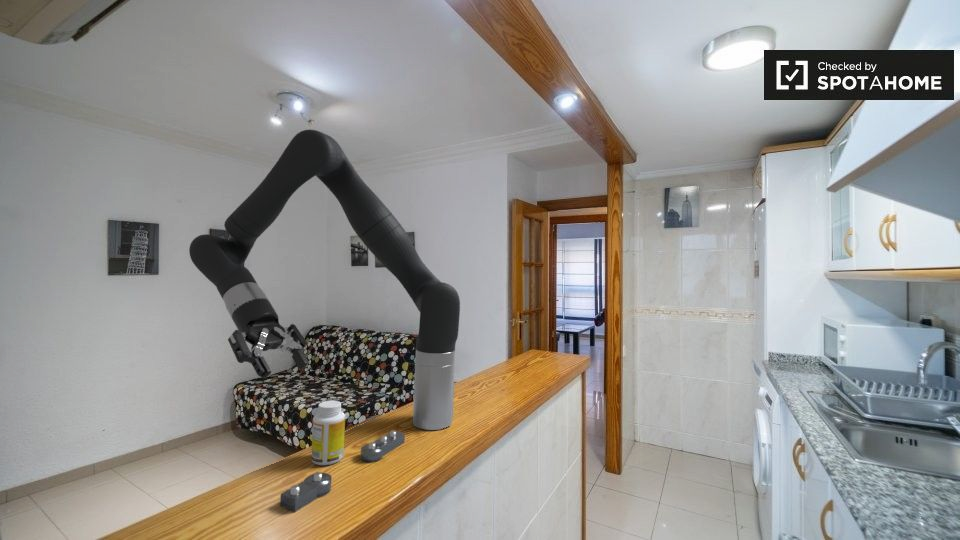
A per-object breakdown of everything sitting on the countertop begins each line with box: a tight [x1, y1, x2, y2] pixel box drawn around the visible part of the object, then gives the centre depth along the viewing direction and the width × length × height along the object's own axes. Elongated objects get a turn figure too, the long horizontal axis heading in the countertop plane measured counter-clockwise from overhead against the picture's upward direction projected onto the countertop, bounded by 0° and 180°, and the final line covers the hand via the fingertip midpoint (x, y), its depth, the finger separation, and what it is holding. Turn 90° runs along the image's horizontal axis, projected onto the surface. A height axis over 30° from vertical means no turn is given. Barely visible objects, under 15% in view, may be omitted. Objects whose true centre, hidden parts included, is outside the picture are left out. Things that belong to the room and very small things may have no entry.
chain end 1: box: [279, 471, 332, 513], centre depth 60 cm, size 8×4×3 cm, turn 156°
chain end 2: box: [360, 430, 406, 463], centre depth 76 cm, size 10×4×3 cm, turn 156°
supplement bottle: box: [311, 400, 346, 466], centre depth 72 cm, size 6×6×10 cm
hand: (286, 371), depth 77 cm, fingers open, 8 cm apart
